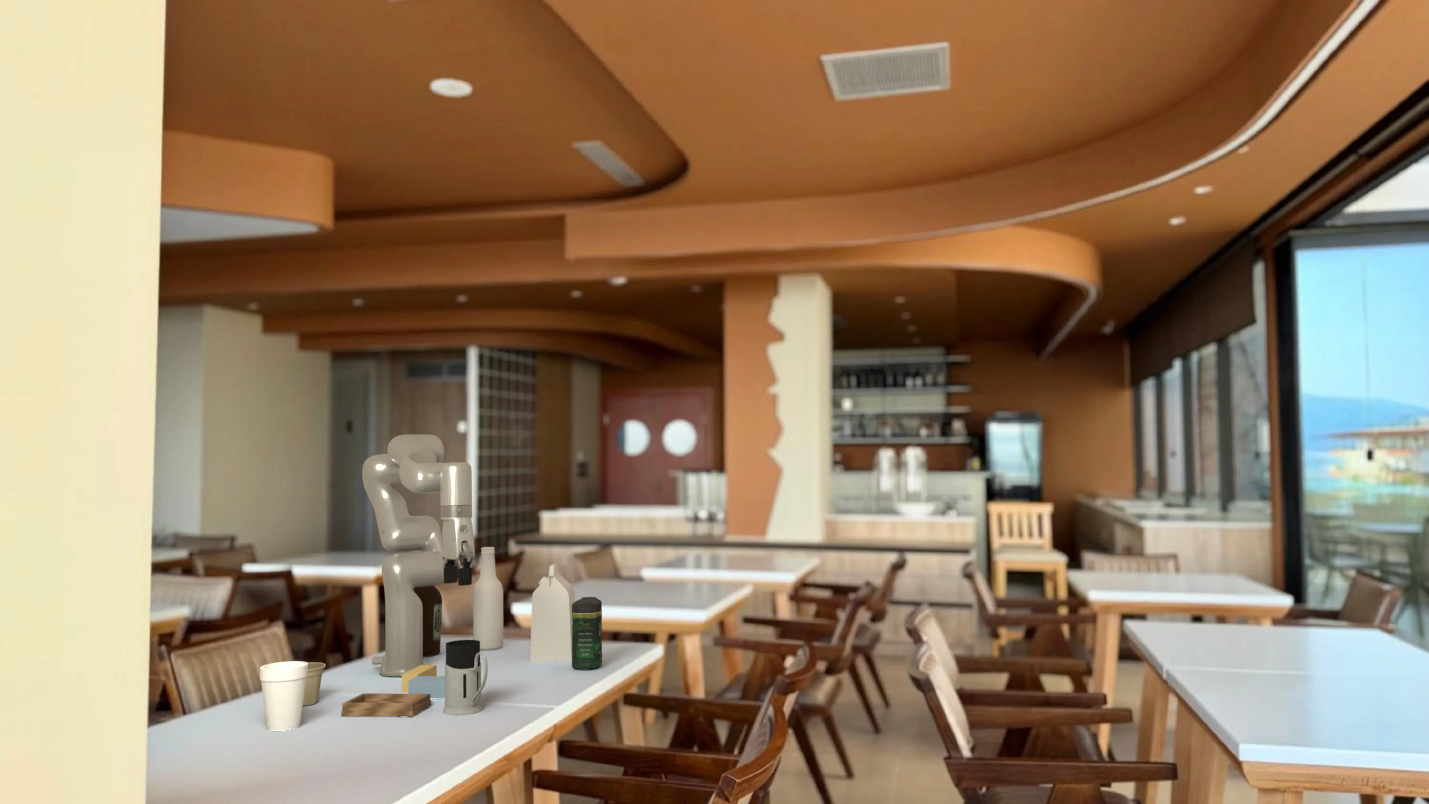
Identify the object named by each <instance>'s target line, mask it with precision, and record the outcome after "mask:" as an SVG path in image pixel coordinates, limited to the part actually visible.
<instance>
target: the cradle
mask: <svg viewBox="0 0 1429 804" xmlns="http://www.w3.org/2000/svg"><path fill="white" fill-rule="evenodd" d="M430 705H431V706H432V699H430V694H408V693H376V692H375V693H373V692H372V693H371V692H370V693H368V692H367V693H366V692H363V693H361V694H358V695H356V696H355V697H353V698H351V699H348V700H346V701H345V702H343V703H342V704H341V707H342V708H341V712H340V715H341V717H356V716H414V715H415V716H417V715H418V714H420V713H422V712H423V711H425V710H426V708H427V707H428V708H430V707H431V706H430ZM429 706H430V707H429ZM428 708H427V709H428ZM421 711H422V712H421ZM415 716H414V717H415Z"/></svg>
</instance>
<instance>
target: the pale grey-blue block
mask: <svg viewBox="0 0 1429 804" xmlns="http://www.w3.org/2000/svg"><path fill="white" fill-rule="evenodd" d="M407 694H430V698H445V675H444V676H441V675H437V676H416V677H415V678H413V679H411V680H409V681H408V693H407Z"/></svg>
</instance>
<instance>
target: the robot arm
mask: <svg viewBox="0 0 1429 804" xmlns="http://www.w3.org/2000/svg"><path fill="white" fill-rule="evenodd" d="M386 451H387V453H381V454H375V455H372V456H370V457H367V458H366V459H365V460H364V462H363V465H362V470H361V471H362V472H361V473H362V474H361V475H362V476H361V477H362V483H363V488H364V490H365V493H366V495H367V497H368V499H369V500H370V502H371V505H372V507H373V509H374V514H375V520H376V524H377V529H378V533H379V537H380V541H381V545H382V547H383V548H384V550H385V551H387V552H391V553H392V552H393V554H390V555H389V556H386V557H385V558H384V560H383V562H382V564H381V578H382V582H383V587H384V588H383V589H384V601H385V602H384V603H385V609H384V610H385V611H384V612H385V617H384V618H385V624H384V625H385V626H384V627H385V630H384V631H385V634H384V635H385V640H384V641H385V646H384V647H385V655H382V656H372V658H371V664H372V665H373V666H376V665H377V666H378V665H380V666H381V667H380V668H379V671H378V672H379V673H378V674H379V675H381V676H383V677H402V674H404V673H406V672H408V671H410V670H412V669H414V668H416V667H418V666H420V665H427V664H426V663H424V662H423V660H424V659H423V658H424V657H423V607H422V602H421V600H420V598H419V597H418V596H417V594H416V593H415V592H414V590H413V588H417V587H426V586H435V587H436V586H440V585H442V584H453V583H458V584H457V585H458V586H460V587H462V586H470V585H472V584H473V581H472V580H473V576H472V574H473V573H472V571H473V570H472V568H473V564H472V562H473V559H474V558H475V555H476V553H475V537H474V528H473V520H472V519H473V485H472V483H473V481H472V479H473V478H472V477H473V475H472V466H471V464H470V463H469V462H464V461H463V462H462V461H454V462H442V461H443V459H444V455H445V447H444V444H443V441H442V440H441V438H439V437H438V436H437V435H435V434H415V433H414V434H407V433H406V434H400V435H399V434H398V435H396V436H395V437H393V438H392V439H391V440H390V441H389V442H388V444H387V450H386ZM391 485H402V486H404V487H405V488H406V489H407V490H409V491H410V492H412V493H413V494H414V493H415V494H440V495H439V496H440V501H439V502H440V504H439V505H440V520H442V521H443V522H442V530H441V528H440V525H439V523H438V521H437V520H436V519H435V518H434V517H432V516H430V515H411V514H409V511H408V506H407V503H406V500H405V499H404V497H403V496H402V495H401V494H400V492H399V491H397V490H396V489H395V488H393V487H392V486H391ZM395 552H396V553H395ZM457 563H458V566H457V565H456V564H457Z"/></svg>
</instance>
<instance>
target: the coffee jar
mask: <svg viewBox="0 0 1429 804" xmlns="http://www.w3.org/2000/svg"><path fill="white" fill-rule="evenodd" d="M602 605H603V603H602V600H600V599H599V598H598V597H596V596H582V597H581V598H579V599H578V600H575V602H574V603H573V604H572V661H571V667H572V669H573V670H574V669H575V670H577V669H578V670H581V671H588V670H590V669H594V670H595V669H598V668H600V667H601V666H602V664H603V609H602V607H603V606H602Z"/></svg>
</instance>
